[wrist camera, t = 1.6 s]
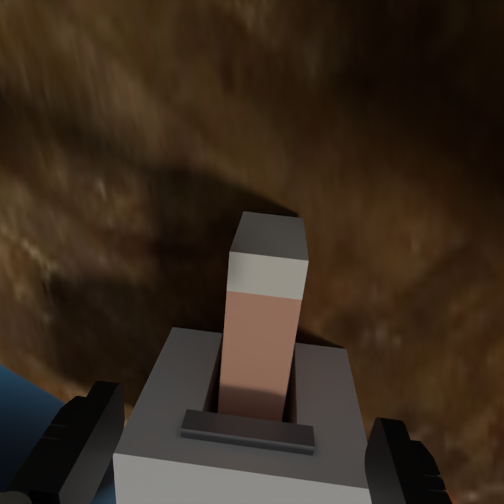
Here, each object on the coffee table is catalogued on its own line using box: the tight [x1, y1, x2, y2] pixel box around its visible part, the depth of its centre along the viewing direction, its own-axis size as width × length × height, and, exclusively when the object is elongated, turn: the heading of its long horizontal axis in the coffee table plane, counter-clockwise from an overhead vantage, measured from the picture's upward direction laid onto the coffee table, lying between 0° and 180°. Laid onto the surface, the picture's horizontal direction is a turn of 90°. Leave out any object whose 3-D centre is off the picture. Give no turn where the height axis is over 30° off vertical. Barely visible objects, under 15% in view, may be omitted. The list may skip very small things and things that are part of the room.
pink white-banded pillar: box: [218, 211, 309, 422], centre depth 23 cm, size 4×16×6 cm, turn 175°
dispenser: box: [113, 327, 372, 504], centre depth 23 cm, size 12×10×10 cm
